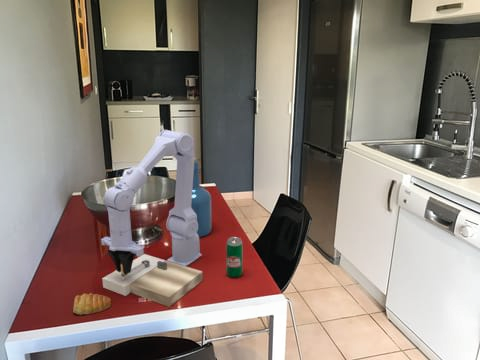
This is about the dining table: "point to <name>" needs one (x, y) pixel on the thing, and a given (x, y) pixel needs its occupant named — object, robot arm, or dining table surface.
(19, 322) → the dining table surface
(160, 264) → the block
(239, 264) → the soda can
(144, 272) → the frame slab
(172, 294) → the slab
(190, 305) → the dining table surface
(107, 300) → the pastry
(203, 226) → the blue bottle
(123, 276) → the bar
